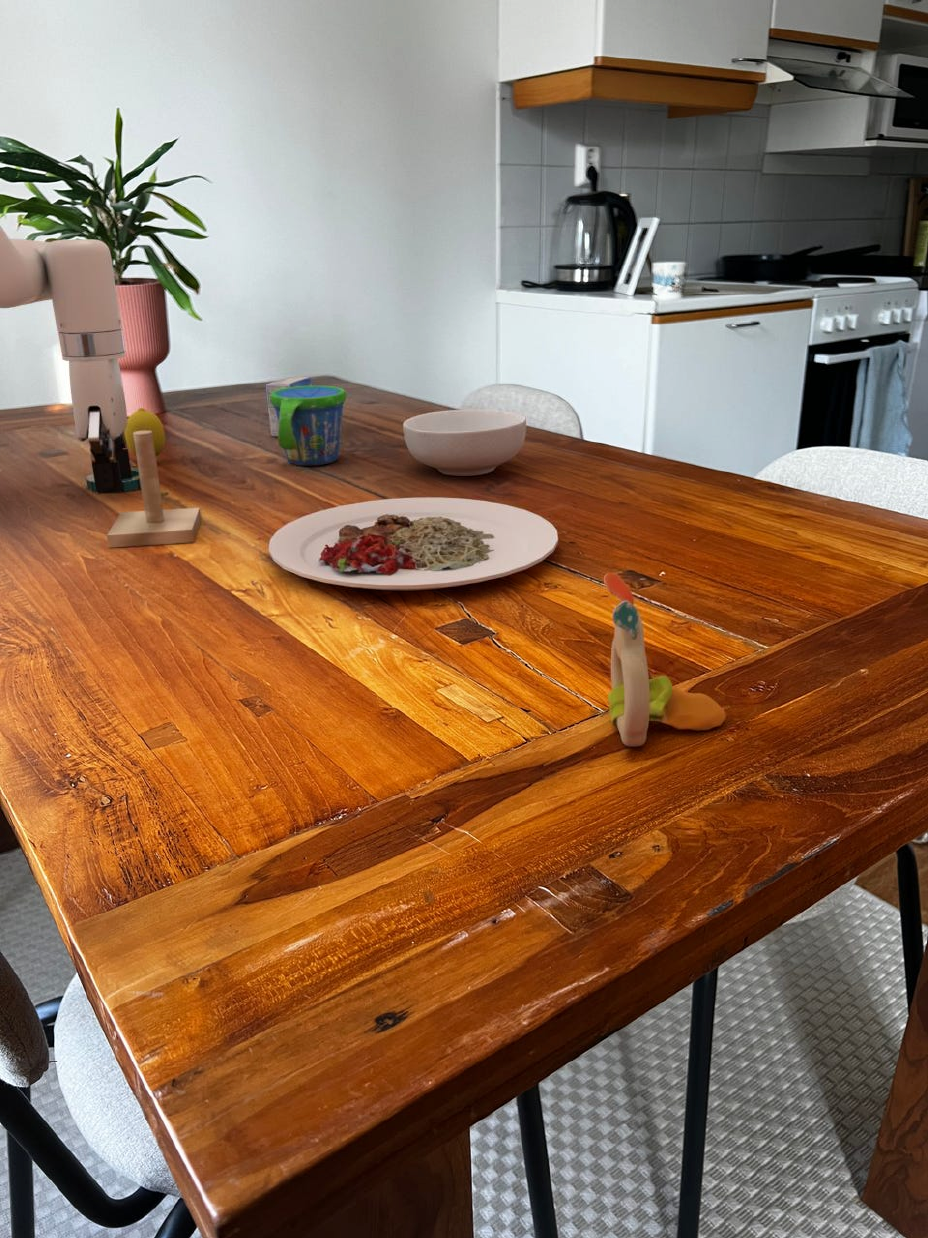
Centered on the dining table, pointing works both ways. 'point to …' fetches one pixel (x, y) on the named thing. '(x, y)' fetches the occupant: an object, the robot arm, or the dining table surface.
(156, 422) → the lemon
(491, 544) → the plated food
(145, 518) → the stand
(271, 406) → the medicine box
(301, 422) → the snack cup
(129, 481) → the ring
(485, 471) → the cereal bowl
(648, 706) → the rattle
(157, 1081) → the dining table surface
